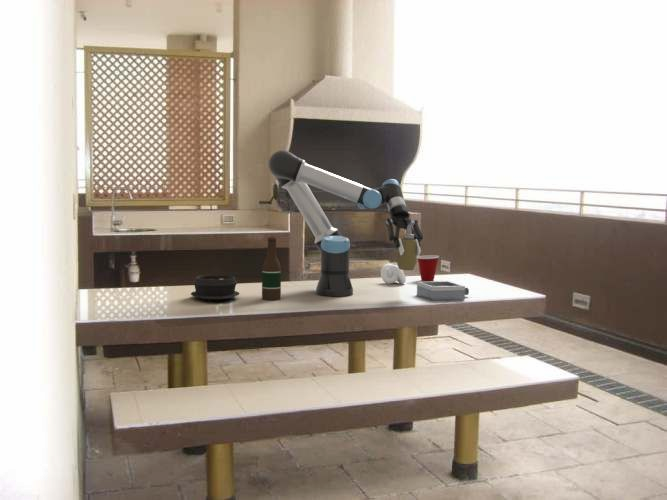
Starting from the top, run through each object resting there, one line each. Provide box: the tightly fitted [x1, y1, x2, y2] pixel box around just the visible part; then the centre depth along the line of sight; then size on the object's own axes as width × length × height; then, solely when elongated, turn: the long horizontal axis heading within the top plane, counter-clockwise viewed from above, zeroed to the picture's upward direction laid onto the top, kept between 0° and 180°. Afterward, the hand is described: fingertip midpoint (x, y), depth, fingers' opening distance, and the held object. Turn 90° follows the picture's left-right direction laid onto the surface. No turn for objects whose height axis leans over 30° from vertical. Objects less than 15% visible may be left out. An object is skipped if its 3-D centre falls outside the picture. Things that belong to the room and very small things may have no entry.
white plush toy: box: [380, 263, 407, 285], centre depth 312 cm, size 11×12×9 cm
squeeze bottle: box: [396, 224, 418, 271], centre depth 270 cm, size 8×8×18 cm
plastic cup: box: [417, 254, 440, 282], centre depth 324 cm, size 11×11×12 cm
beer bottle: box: [261, 236, 282, 301], centre depth 261 cm, size 8×8×24 cm
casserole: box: [190, 274, 240, 302], centre depth 260 cm, size 25×19×8 cm
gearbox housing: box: [416, 280, 470, 302], centre depth 274 cm, size 19×15×6 cm
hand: (410, 253), depth 267 cm, fingers closed on squeeze bottle, 6 cm apart
